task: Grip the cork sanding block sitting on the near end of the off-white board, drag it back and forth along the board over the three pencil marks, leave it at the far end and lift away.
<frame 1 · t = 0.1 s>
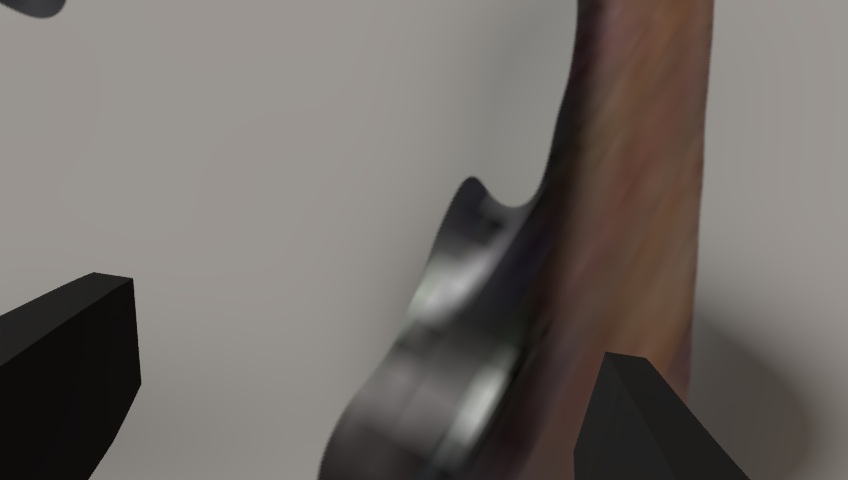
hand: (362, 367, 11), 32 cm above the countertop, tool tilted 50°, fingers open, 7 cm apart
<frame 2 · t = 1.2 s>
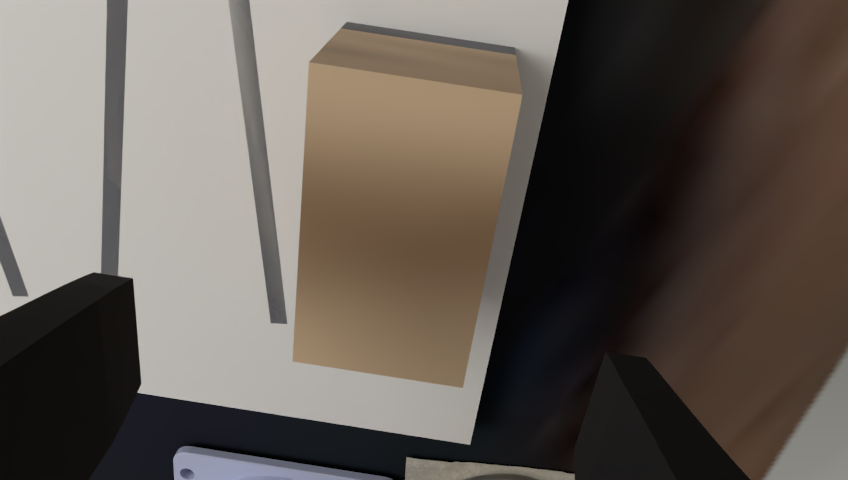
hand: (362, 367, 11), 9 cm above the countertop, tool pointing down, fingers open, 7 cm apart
cork block: (412, 171, 18), point 1 cm above the countertop, touching board
board: (96, 139, 20), on the countertop
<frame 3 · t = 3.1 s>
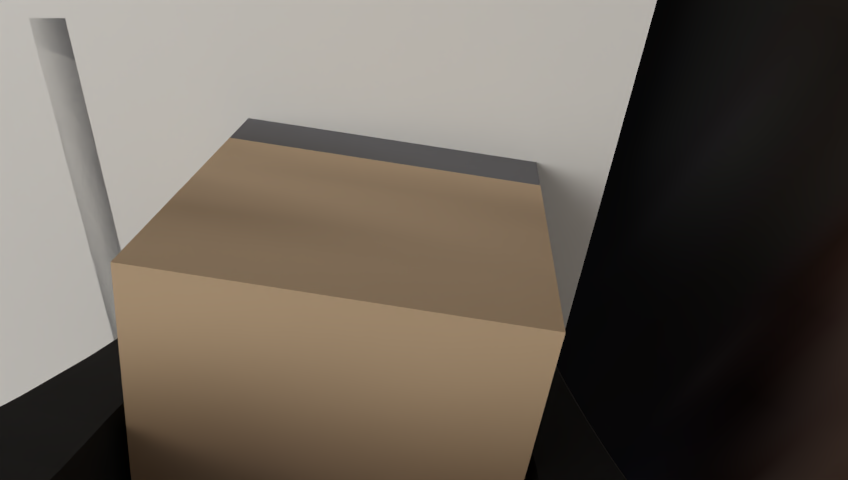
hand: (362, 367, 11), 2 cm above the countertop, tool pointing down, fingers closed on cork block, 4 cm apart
cork block: (368, 344, 11), point 1 cm above the countertop, touching board, gripper
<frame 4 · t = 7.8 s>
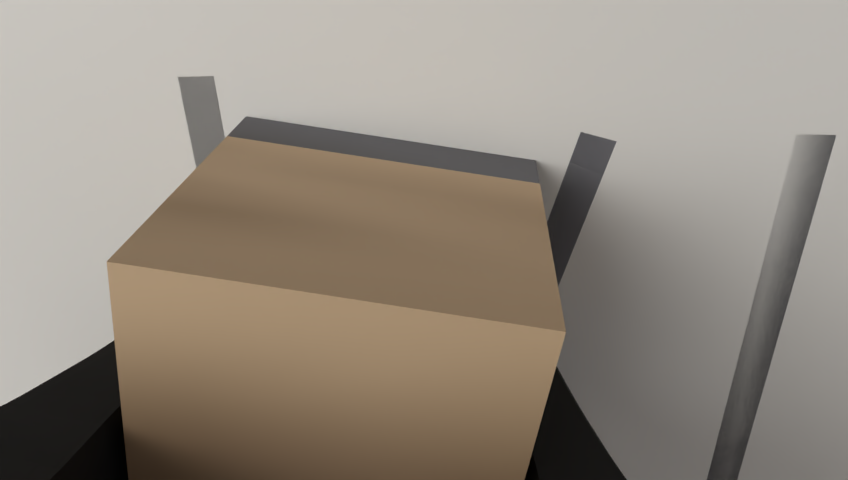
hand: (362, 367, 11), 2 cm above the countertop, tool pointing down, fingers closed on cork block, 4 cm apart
cork block: (367, 343, 11), point 1 cm above the countertop, touching gripper
board: (434, 357, 13), on the countertop
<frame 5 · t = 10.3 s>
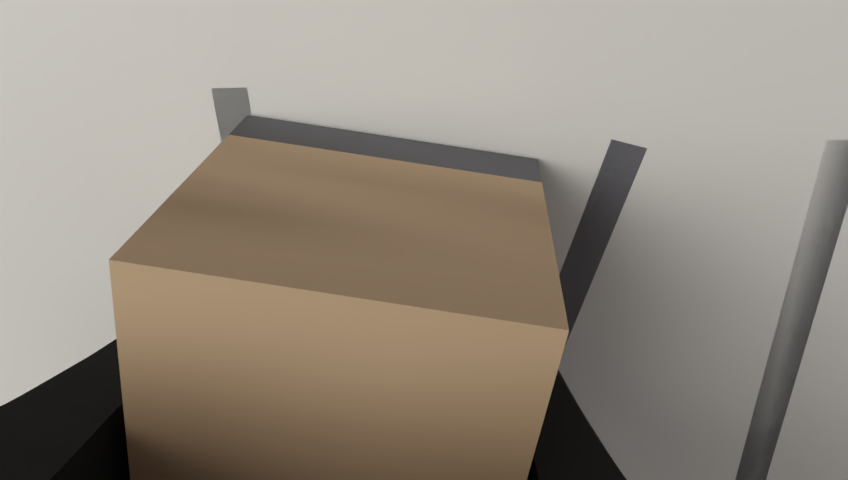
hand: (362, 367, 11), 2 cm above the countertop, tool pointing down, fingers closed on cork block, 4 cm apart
cork block: (368, 342, 11), point 1 cm above the countertop, touching gripper
board: (460, 363, 13), on the countertop
when the fingers open (2 cm above the countertop, at t = 12.4 s): cork block stays where it is, resting on board.
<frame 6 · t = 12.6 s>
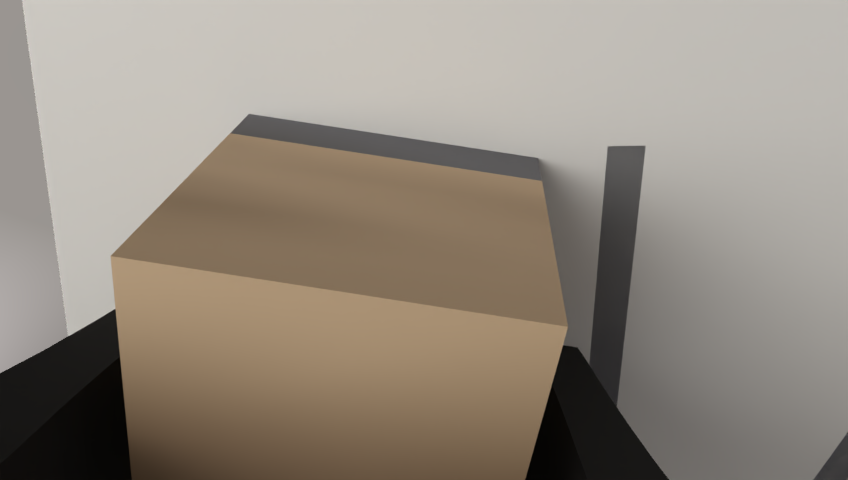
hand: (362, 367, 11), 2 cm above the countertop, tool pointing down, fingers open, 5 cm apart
cork block: (369, 341, 11), point 1 cm above the countertop, touching board
board: (752, 407, 13), on the countertop
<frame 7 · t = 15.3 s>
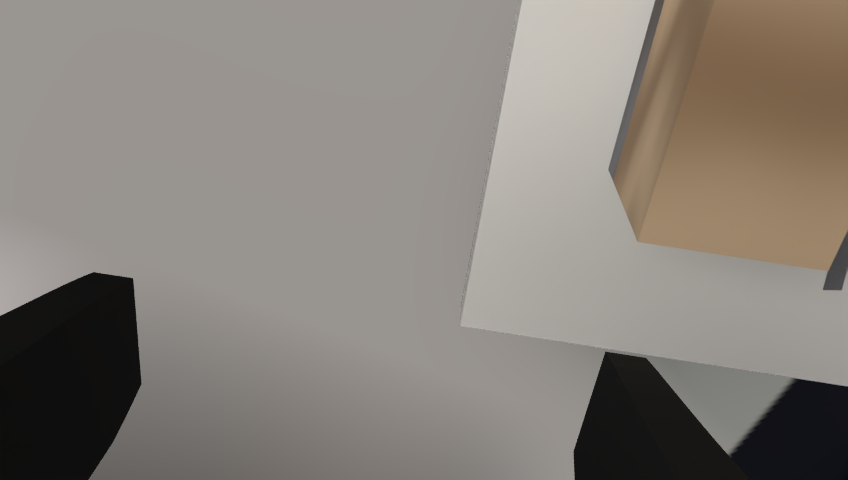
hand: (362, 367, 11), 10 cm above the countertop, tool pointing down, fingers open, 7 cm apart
cork block: (730, 45, 16), point 1 cm above the countertop, touching board
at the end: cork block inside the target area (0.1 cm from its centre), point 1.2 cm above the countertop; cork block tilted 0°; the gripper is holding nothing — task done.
